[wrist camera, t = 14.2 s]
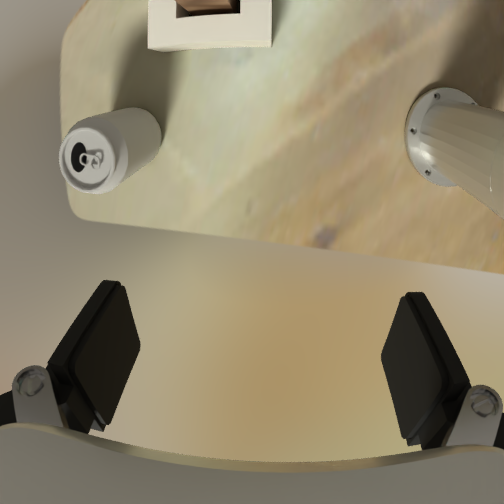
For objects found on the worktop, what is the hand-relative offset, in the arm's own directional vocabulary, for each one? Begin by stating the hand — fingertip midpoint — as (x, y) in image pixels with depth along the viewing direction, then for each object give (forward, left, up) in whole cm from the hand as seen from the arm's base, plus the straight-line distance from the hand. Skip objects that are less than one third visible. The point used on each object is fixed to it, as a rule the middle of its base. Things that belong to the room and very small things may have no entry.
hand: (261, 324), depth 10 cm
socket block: (+6, -18, -28) cm, 34 cm away
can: (+16, -2, -28) cm, 33 cm away
